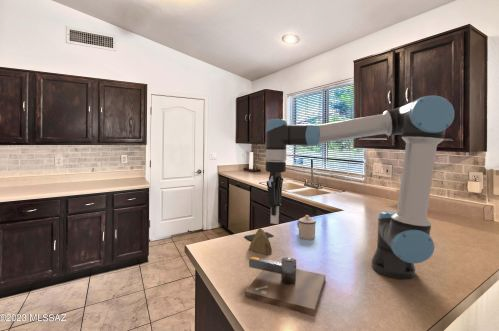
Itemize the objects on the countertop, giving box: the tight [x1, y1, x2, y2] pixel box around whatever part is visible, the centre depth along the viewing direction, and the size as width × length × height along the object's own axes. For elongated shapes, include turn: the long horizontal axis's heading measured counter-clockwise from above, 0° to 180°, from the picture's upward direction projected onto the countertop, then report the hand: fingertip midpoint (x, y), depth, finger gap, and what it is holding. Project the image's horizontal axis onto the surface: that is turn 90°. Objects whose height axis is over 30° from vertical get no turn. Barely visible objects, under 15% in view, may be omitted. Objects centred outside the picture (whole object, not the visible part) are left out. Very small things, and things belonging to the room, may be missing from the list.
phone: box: [243, 231, 274, 242], centre depth 139 cm, size 7×1×15 cm
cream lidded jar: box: [296, 214, 316, 240], centre depth 141 cm, size 12×9×12 cm
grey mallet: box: [248, 256, 297, 284], centre depth 92 cm, size 17×5×8 cm, turn 66°
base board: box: [244, 268, 326, 317], centre depth 89 cm, size 22×22×2 cm
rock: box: [248, 228, 273, 255], centre depth 119 cm, size 11×9×10 cm
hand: (274, 223), depth 99 cm, fingers closed
